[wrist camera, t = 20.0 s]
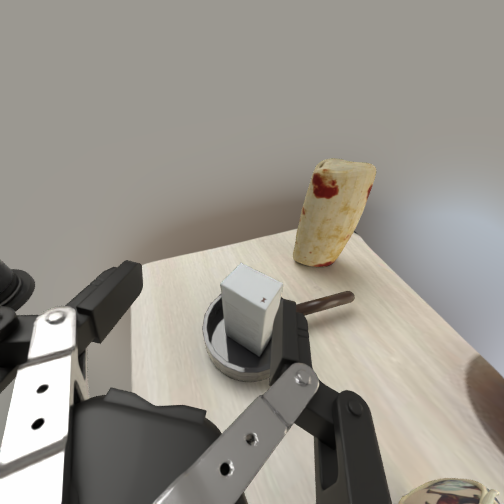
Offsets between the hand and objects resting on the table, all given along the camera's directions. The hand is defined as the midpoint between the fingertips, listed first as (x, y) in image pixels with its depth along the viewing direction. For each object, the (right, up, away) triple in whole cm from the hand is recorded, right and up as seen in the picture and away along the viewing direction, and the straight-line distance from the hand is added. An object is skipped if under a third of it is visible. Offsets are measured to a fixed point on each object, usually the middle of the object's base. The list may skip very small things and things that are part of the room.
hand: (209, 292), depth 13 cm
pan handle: (+13, -6, +22) cm, 27 cm away
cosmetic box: (+2, -10, +21) cm, 23 cm away
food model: (+15, +1, +33) cm, 36 cm away
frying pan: (+2, -10, +21) cm, 24 cm away
